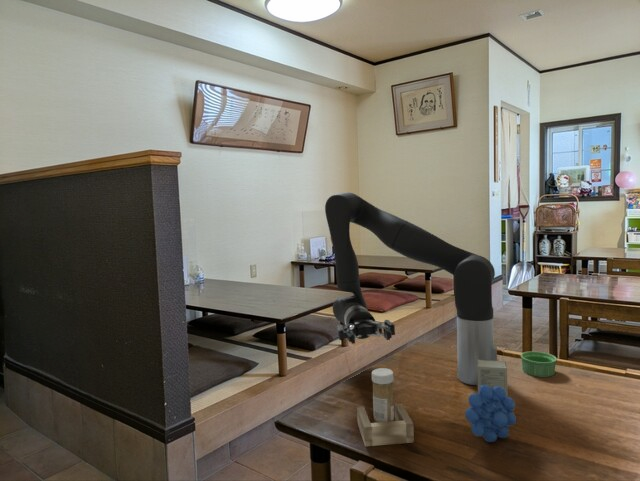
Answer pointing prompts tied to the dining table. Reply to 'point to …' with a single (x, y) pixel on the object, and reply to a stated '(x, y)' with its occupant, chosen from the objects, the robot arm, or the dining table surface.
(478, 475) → the dining table surface
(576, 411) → the dining table surface
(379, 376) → the spice jar
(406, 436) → the pocket
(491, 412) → the blue bumpy cluster
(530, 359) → the ramekin
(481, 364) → the skincare box
